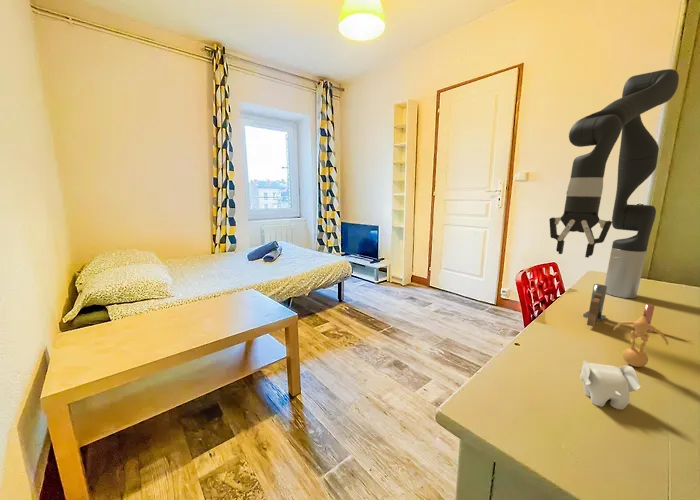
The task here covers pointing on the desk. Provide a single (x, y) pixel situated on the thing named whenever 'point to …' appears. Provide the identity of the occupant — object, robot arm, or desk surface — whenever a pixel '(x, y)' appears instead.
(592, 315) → the gate
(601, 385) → the elephant figurine
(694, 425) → the desk surface
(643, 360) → the figurine
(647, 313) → the gate posts
